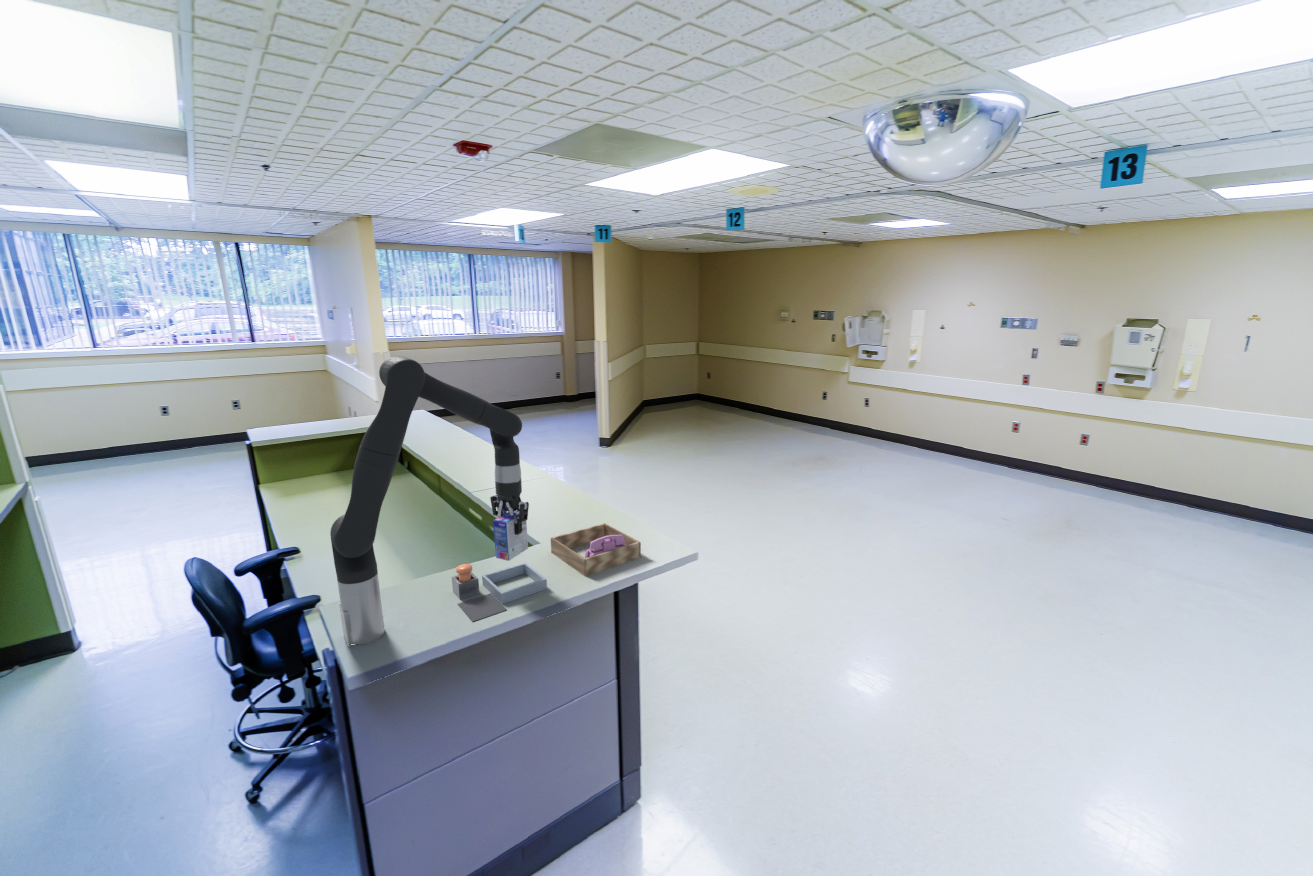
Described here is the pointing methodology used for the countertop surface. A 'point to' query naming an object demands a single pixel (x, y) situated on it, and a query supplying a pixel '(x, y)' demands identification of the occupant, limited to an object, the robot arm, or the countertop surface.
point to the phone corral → (596, 562)
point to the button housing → (465, 586)
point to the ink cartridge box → (509, 537)
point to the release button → (464, 572)
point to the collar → (518, 591)
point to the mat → (482, 607)
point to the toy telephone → (605, 545)
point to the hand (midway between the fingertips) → (510, 531)
